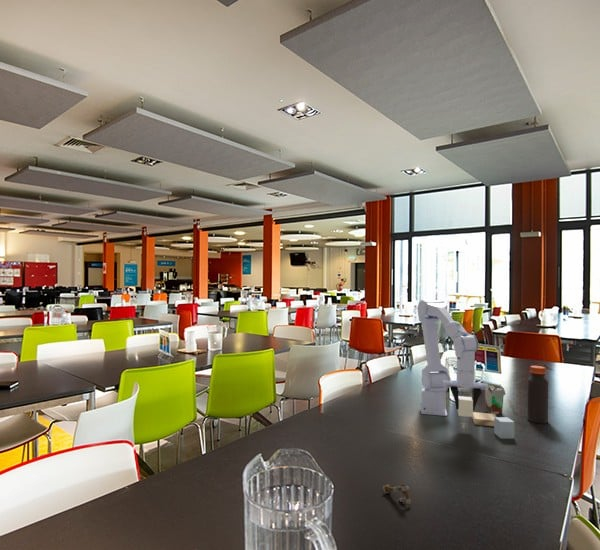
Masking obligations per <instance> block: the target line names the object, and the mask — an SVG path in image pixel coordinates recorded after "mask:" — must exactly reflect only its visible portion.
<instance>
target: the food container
mask: <svg viewBox="0 0 600 550" xmlns="http://www.w3.org/2000/svg"><path fill="white" fill-rule="evenodd" d="M485 384H488V391H486V390H484V400H485V401H484V402H485V403H484V404H485V405H484V407H485V410H486V412H488V413H489V414H495V415H496V417H499V416H500V417H501V416H502V414H503V405H504V396H505V395H506V389H505V388H504V387H503V386H502V385H500V384H499V385H498V384H494V383H487V382H485Z"/></svg>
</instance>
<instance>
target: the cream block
mask: <svg viewBox="0 0 600 550" xmlns="http://www.w3.org/2000/svg"><path fill="white" fill-rule="evenodd" d="M458 404H459V409H457V414H458V416H459V417H468V418H469V417H470V418H472V417H473V412H474V411H473V400H472V396H462V395H461V396H460V395H458Z"/></svg>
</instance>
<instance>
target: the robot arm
mask: <svg viewBox="0 0 600 550" xmlns="http://www.w3.org/2000/svg"><path fill="white" fill-rule="evenodd" d="M416 309H417V316H418V321H419V322H420V323H421V329H422V334H423V342H424V348H425V350H424V351H425V355H426V363H427V365H426V366H424V367H423V368H422V370H421V385H422V386H423V388H421V389H420V391H421V392H420V393H421V395H420V401H421V402H420V403H419V404H420V405H419V407H420V409H421V411H420V412H421V414H422V415H423V414H424V415H430V416H431V415H433V416H443V417H448V412H447V408H446V406H447V405H446V404H447V403H446V400H447V399H446V397H447V395H446V394H447V393H446V392H447V391H448V389H449V388H450V391H451V393H452V396H453V398H454V403H455V410H458V409H459V404H458V396H459V393H460V392H459V391H460V390H459V389H469V390H471V397H472V400H473V412H476V405H477V403H478V400H479V398H480V396H481V395H482V391H485V390H486V391H488V384H489V383H487V384H485V383H486V382H485V383H483V382H476V381H475V361H476V360H475V354H476V352H477V351H478V349H479V341H478V338H477V336H476V335H474V334H471V333H468V332H467V331H466V329H465V328H464V326H463V325H462V324H461V323H460V322H459V321H455V320H454V319H453V316H451V314H450V312H449V311H448V305H447V303H446V302H445V300H443V299H437V300H435V299H434V300H433V299H428V300H427V299H426V300H425V299H420V301H419V302H418V305H417V308H416ZM438 322H441V323H442V324H443V325H444V326H445V332H446V334H447V335H448V336H449V338H450V339H451V340H452V342H453V344H452V345H453V348H454V353H455V357H456V380H451V377H450V374H449V371H448V368H447V367H446V366H444V365H443V364H442V361H441V353H440V348H439V343H438V335H437V329H436V324H437V323H438Z"/></svg>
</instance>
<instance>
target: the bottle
mask: <svg viewBox="0 0 600 550" xmlns="http://www.w3.org/2000/svg"><path fill="white" fill-rule="evenodd" d="M529 369H530V371H529V372H530V377H528V378H527V379H526V380H527V386H526V387H527V388H526V391H527V392H526V395H527V401H526V404H527V405H526V407H527V410H526V415H527V417H526V419H527V421H529V422H531V423H535V424H542V425H543V424H545V425H546V424H548V423H549V380H548V379H547V378H546V377H545V376H546V367H545V366H540V365H530V368H529Z"/></svg>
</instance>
